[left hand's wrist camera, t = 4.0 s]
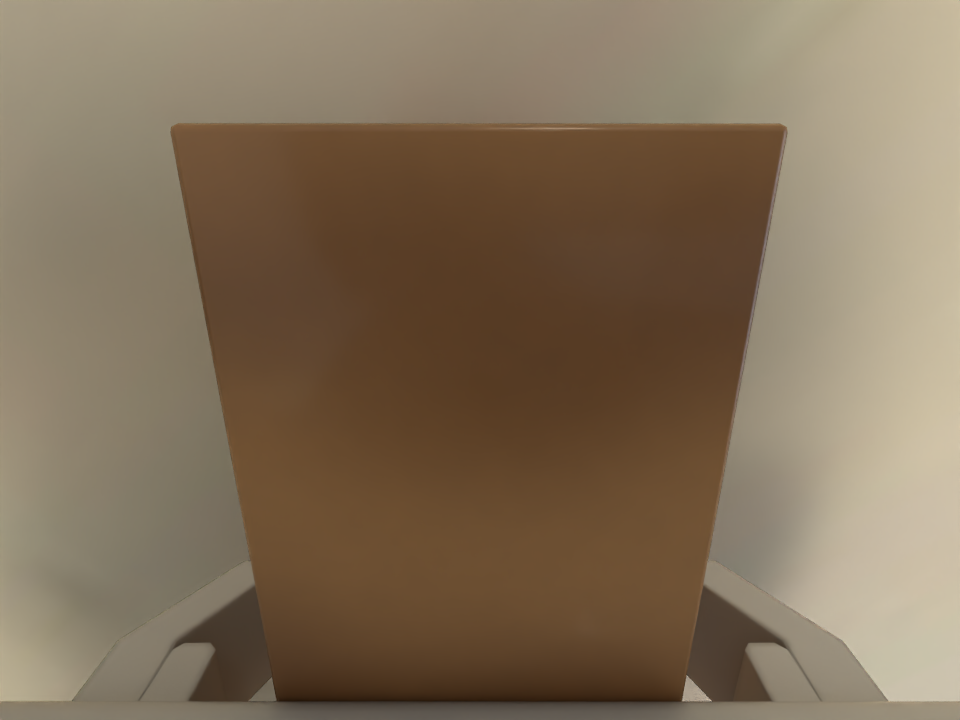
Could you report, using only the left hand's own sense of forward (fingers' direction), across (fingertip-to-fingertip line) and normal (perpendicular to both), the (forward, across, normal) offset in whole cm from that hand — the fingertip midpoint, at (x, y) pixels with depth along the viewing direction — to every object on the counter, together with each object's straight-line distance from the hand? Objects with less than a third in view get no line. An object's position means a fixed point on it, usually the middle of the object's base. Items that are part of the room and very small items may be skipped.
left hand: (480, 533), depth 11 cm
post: (+3, 0, -26) cm, 26 cm away
